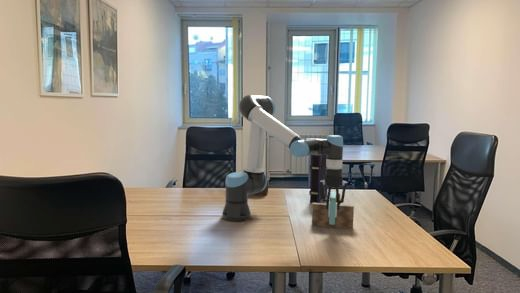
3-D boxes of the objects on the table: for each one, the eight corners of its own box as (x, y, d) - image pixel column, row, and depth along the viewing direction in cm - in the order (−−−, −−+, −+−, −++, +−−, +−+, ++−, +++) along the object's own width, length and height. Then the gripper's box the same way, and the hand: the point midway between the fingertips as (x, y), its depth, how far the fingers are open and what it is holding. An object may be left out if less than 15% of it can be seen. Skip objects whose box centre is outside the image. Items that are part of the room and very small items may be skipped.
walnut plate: (311, 225, 191) (312, 203, 190) (312, 223, 193) (312, 202, 192) (352, 228, 187) (353, 206, 186) (352, 227, 189) (353, 205, 188)
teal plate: (330, 212, 194) (331, 191, 192) (335, 212, 193) (336, 191, 192) (329, 224, 174) (329, 200, 173) (334, 224, 174) (335, 201, 172)
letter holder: (266, 195, 253) (267, 174, 251) (237, 194, 255) (237, 173, 253) (268, 192, 263) (268, 172, 261) (239, 191, 265) (239, 171, 263)
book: (318, 194, 258) (320, 150, 254) (327, 195, 255) (329, 150, 252) (309, 202, 236) (310, 154, 233) (319, 203, 234) (320, 155, 230)
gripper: (317, 168, 179) (315, 217, 181) (351, 170, 176) (349, 219, 178) (318, 166, 186) (316, 213, 189) (350, 167, 183) (349, 215, 186)
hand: (332, 216), depth 183 cm, fingers closed on teal plate, 2 cm apart
